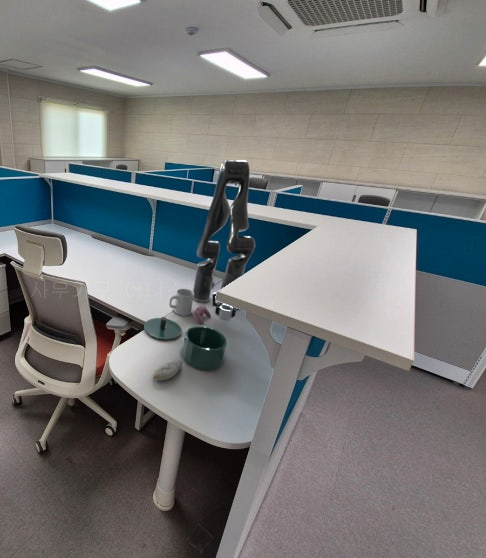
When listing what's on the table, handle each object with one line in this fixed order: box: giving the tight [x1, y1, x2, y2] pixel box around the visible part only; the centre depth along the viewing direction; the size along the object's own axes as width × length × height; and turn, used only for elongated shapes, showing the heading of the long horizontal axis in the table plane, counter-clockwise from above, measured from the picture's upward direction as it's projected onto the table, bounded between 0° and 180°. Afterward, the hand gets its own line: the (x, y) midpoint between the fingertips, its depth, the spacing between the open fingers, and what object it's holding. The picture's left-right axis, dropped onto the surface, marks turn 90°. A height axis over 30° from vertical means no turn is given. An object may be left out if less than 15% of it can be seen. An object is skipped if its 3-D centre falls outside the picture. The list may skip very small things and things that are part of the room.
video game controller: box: [193, 305, 212, 325], centre depth 147 cm, size 10×5×7 cm, turn 141°
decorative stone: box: [152, 359, 183, 382], centre depth 111 cm, size 6×16×3 cm, turn 133°
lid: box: [143, 316, 182, 341], centre depth 137 cm, size 17×17×6 cm
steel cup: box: [217, 303, 233, 321], centre depth 134 cm, size 6×6×5 cm
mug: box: [168, 288, 194, 317], centre depth 151 cm, size 12×8×11 cm
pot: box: [181, 325, 228, 371], centre depth 119 cm, size 16×16×10 cm
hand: (224, 315), depth 135 cm, fingers closed on steel cup, 5 cm apart
